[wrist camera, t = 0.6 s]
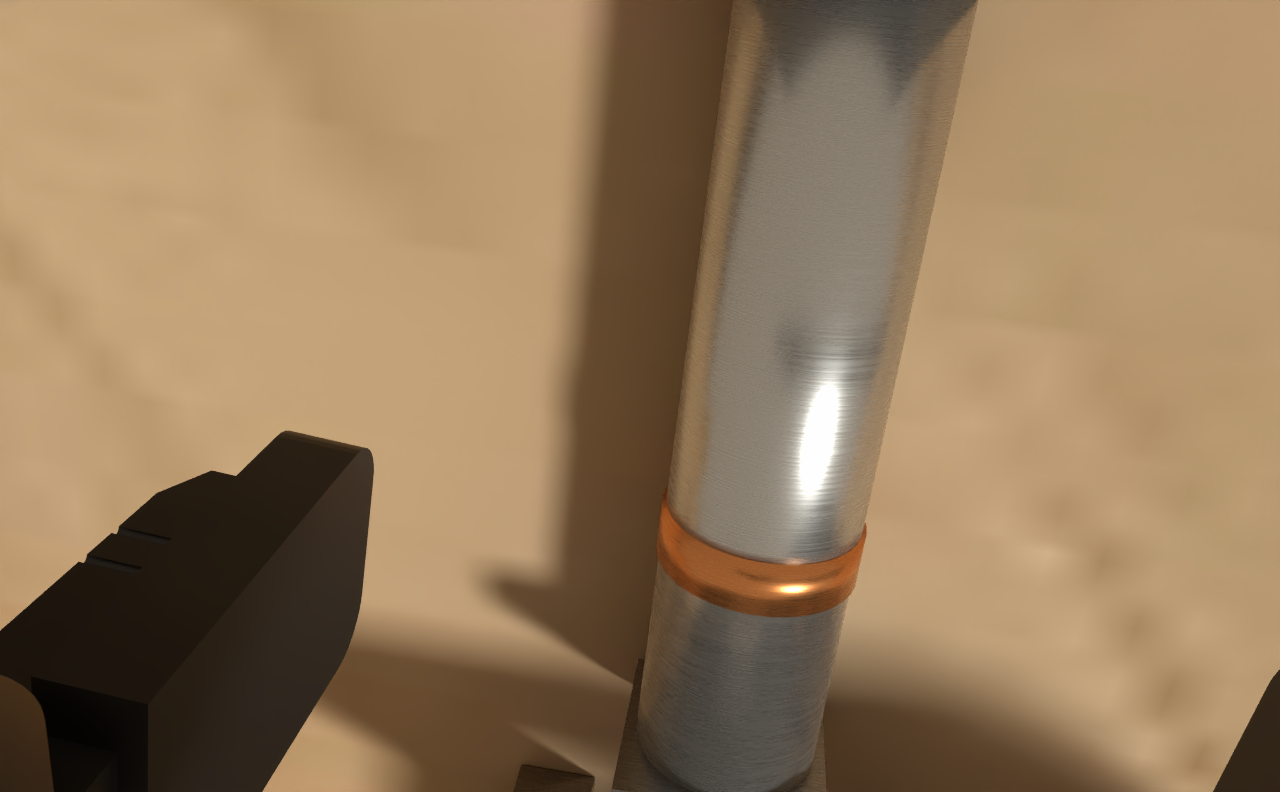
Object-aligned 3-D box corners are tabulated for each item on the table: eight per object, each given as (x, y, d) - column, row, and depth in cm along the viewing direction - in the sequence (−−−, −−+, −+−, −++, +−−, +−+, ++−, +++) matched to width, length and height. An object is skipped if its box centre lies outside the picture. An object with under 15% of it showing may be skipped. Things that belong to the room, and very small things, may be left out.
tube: (982, -61, 25) (1033, -60, 20) (816, 715, 34) (821, 856, 28) (736, -90, 25) (723, -96, 20) (635, 684, 34) (608, 818, 29)
